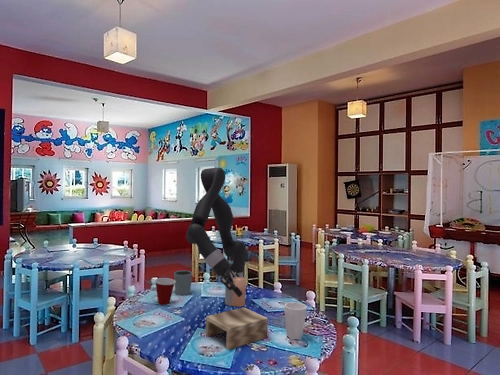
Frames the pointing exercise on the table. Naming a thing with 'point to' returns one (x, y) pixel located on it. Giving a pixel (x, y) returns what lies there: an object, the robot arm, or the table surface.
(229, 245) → the robot arm
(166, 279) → the plastic cup
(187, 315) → the table surface
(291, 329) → the foam cup
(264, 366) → the table surface
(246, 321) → the wooden stand
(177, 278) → the drinking glass
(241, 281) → the tan dome-topped peg
